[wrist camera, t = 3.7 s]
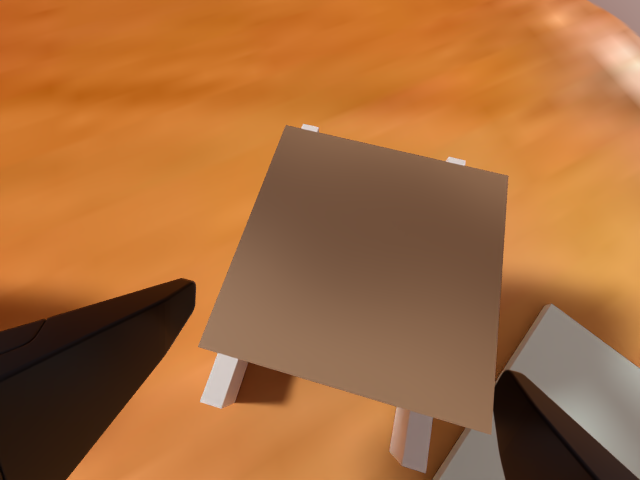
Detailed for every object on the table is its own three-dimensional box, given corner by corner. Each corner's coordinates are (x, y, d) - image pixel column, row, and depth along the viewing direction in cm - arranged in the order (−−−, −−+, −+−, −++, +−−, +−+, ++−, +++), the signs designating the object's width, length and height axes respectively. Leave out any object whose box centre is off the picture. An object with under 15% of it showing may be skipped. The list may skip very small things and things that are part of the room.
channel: (409, 457, 16) (425, 473, 13) (216, 397, 16) (199, 401, 14) (449, 183, 21) (465, 160, 19) (304, 149, 22) (303, 123, 20)
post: (370, 388, 17) (491, 434, 5) (278, 361, 17) (198, 347, 6) (388, 296, 19) (508, 175, 7) (304, 274, 19) (285, 125, 7)
